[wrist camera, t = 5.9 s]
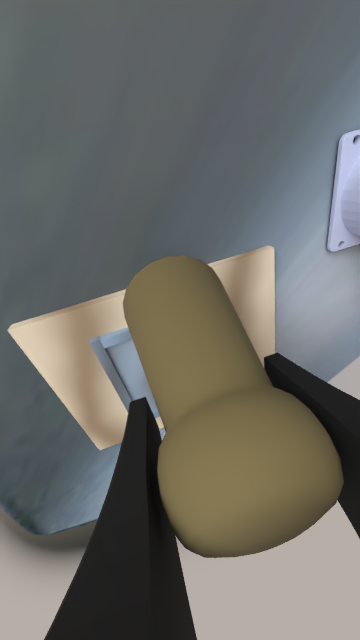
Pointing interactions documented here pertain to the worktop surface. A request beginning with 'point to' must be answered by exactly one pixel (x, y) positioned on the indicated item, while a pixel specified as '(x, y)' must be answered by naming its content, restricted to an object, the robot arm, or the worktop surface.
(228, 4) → the worktop surface
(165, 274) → the cork
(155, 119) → the worktop surface
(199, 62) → the worktop surface
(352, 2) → the worktop surface
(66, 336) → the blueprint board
